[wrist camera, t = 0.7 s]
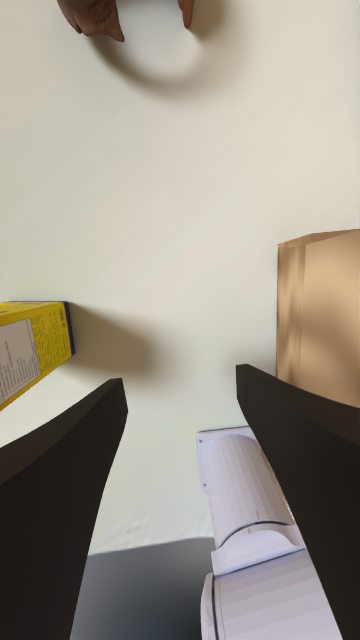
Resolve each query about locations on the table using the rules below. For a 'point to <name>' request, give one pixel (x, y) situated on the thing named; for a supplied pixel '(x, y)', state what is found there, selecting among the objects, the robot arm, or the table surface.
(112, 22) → the pottery mug
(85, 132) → the table surface
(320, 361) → the flap
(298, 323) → the carton
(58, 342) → the supplement box
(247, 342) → the table surface
